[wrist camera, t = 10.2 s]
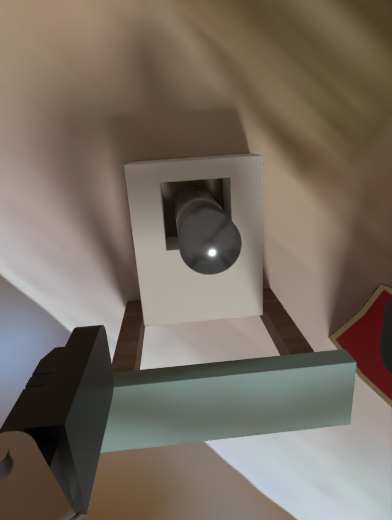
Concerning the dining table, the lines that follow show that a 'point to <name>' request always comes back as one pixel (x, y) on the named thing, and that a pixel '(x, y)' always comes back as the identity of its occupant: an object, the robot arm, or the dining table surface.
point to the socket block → (167, 248)
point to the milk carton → (368, 343)
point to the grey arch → (226, 389)
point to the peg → (205, 232)
